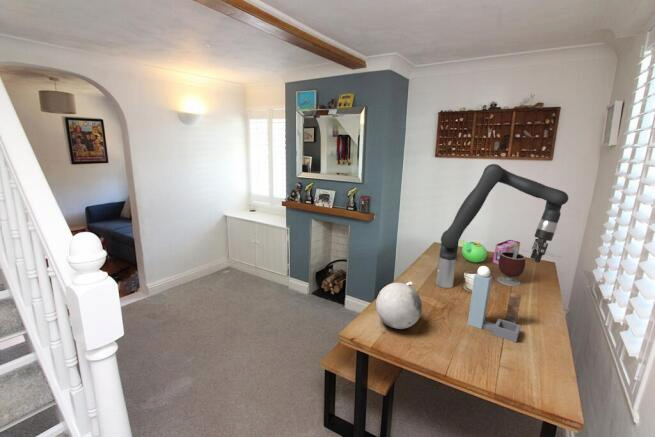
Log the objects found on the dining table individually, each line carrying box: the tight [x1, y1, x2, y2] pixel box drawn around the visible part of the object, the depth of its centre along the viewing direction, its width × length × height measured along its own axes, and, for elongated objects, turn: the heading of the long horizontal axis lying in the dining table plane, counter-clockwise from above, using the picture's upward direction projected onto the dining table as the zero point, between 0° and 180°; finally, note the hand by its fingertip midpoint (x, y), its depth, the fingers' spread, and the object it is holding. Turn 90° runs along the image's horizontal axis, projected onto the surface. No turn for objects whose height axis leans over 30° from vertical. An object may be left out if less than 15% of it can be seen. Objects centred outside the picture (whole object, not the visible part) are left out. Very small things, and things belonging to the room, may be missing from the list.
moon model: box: [375, 282, 423, 330], centre depth 143 cm, size 20×20×20 cm
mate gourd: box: [497, 247, 526, 287], centre depth 194 cm, size 16×14×20 cm
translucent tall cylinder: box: [505, 292, 522, 324], centre depth 148 cm, size 4×4×14 cm
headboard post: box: [467, 265, 521, 343], centre depth 140 cm, size 20×9×28 cm, turn 52°
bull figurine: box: [406, 281, 415, 288], centre depth 170 cm, size 4×13×8 cm, turn 137°
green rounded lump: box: [459, 239, 488, 263], centre depth 227 cm, size 18×17×15 cm
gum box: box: [492, 239, 521, 265], centre depth 229 cm, size 24×8×14 cm, turn 128°
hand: (534, 260), depth 161 cm, fingers open, 8 cm apart
